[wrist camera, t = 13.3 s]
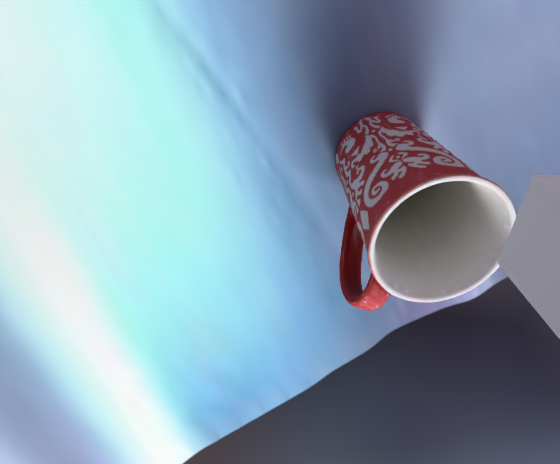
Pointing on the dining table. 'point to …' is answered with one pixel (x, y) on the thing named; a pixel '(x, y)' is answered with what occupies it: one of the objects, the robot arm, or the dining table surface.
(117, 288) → the dining table surface
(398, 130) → the mug
